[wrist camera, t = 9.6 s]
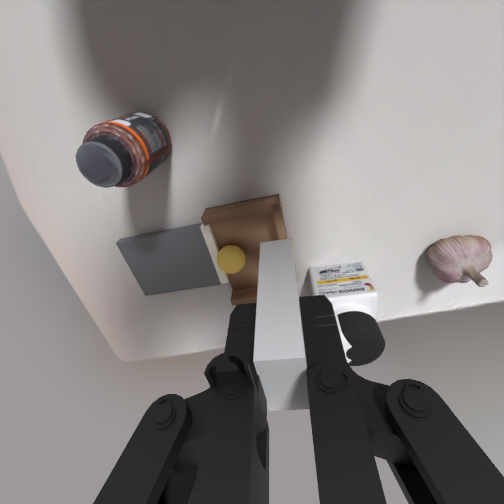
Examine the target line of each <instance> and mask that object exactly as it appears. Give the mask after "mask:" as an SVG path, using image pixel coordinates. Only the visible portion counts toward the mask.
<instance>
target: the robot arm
mask: <svg viewBox="0 0 504 504" xmlns="http://www.w3.org/2000/svg"><path fill="white" fill-rule="evenodd" d="M204 374H205V376H206V378H207V380H208V382H209V384H210V386H211V387H210V388H209V389H207V390H205V391H203V392H201V393H199V394H196V395H194V396H192V397H189V398H187V399H183V398H182V397H181V396H179V395H176V394H167V395H165V396H162V397H160V398H159V399H157V400H156V401H155V402H153V403H152V405H151V406H150V407H149V408H148V410H147V411H146V412H145V414H144V416H143V418H142V419H141V421H140V423H139V425H138V426H137V428H136V430H135V432H134V433H133V435H132V437H131V439H130V440H129V442H128V444H127V446H126V447H125V449H124V451H123V453H122V455H121V456H120V458H119V460H118V461H117V463H116V465H115V467H114V468H113V470H112V472H111V474H110V475H109V477H108V479H107V481H106V482H105V484H104V486H103V487H102V489H101V491H100V493H99V495H98V496H97V498H96V500H95V502H94V503H93V504H269V427H268V422H267V419H266V418H267V417H266V416H267V407H268V410H269V411H272V410H273V411H275V410H296V409H310V417H311V425H312V435H313V444H314V453H315V462H316V470H317V481H318V490H319V499H320V504H386V500H385V496H384V492H383V489H382V484H381V481H380V477H379V473H378V469H377V466H376V461H375V458H374V456H376V457H379V458H382V459H386V460H387V462H388V464H389V466H390V468H391V470H392V472H393V474H394V476H395V478H396V480H397V482H398V484H399V486H400V487H401V489H402V491H403V493H404V495H405V497H406V499H407V501H408V503H409V504H504V477H503V475H502V474H501V473H500V472H499V470H498V469H497V468H496V467H495V465H494V464H493V463H492V462H491V460H490V459H489V458H488V456H487V455H486V454H485V453H484V451H483V450H482V449H481V448H480V446H479V445H478V444H477V443H476V441H475V440H474V439H473V437H472V436H471V435H470V434H469V432H468V431H467V430H466V429H465V428H464V426H463V425H462V424H461V422H460V421H459V420H458V419H457V417H456V416H455V415H454V413H453V412H452V411H451V410H450V408H449V407H448V406H447V405H446V403H445V402H444V401H443V400H442V398H441V397H440V396H439V395H438V394H437V393H436V392H435V391H434V390H433V389H432V388H431V387H429V386H428V385H426V384H424V383H422V382H420V381H416V380H412V379H402V380H398V381H396V382H394V383H392V384H391V385H390V386H388V385H384V384H380V383H376V382H372V381H369V380H366V379H364V378H362V377H361V376H359V375H357V374H356V373H355V372H354V371H353V370H352V369H351V368H350V366H349V365H348V362H347V360H346V356H345V352H344V349H343V345H342V341H341V337H340V333H339V329H338V325H337V321H336V317H335V313H334V309H333V306H332V303H331V302H330V301H329V299H328V298H327V297H326V296H325V295H315V296H306V297H299V289H298V281H297V274H296V267H295V260H294V253H293V246H292V239H291V238H290V239H283V240H276V241H269V242H262V243H260V257H259V274H258V290H257V303H248V304H239V305H236V307H235V309H234V310H233V312H232V313H231V315H230V321H229V327H228V336H227V340H226V346H225V352H224V353H222V354H220V355H218V356H217V357H215V358H213V360H212V361H211V362H210V363H209V364H208V365H207V368H206V370H205V372H204Z"/></svg>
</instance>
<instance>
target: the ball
mask: <svg viewBox="0 0 504 504" xmlns="http://www.w3.org/2000/svg"><path fill="white" fill-rule="evenodd" d="M217 264H218V266H219V268H220V269H221V270H222V271H223V272H225V273H229V274H233V273H237V272H239V271H240V270H241V269H242V268H243V267H244V265H245V254H244V252H243V251H242V249H240V248H239V247H237V246H234V245H228V246H225V247H223V248H222V249H221V250H220V251H219V253H218V255H217Z"/></svg>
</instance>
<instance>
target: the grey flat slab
mask: <svg viewBox="0 0 504 504" xmlns="http://www.w3.org/2000/svg"><path fill="white" fill-rule="evenodd" d="M116 244H117V246H118V248H119V249H120V251H121V253H122V255H123V257H124V258H125V260H126V262H127V264H128V265H129V267H130V269H131V271H132V273H133V274H134V276H135V278H136V280H137V281H138V283H139V285H140V287H141V289H142V290H143V292H144V294H145V296H147V295H153V294H160V293H166V292H173V291H179V290H186V289H193V288H199V287H206V286H212V285H219V284H225V283H229V277H228V274H227V273H225V272H223V271H222V270H221V269H220V268H219V266H218V264H217V255H218V253H219V248H218V245H217V242H216V239H215V236H214V233H213V231H212V228H211V225H210V224H208V225H203V223H201V224H196V225H191V226H186V227H181V228H175V229H170V230H165V231H160V232H155V233H149V234H144V235H139V236H134V237H129V238H123V239H120V240H119V241H118V242H117V243H116Z"/></svg>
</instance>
